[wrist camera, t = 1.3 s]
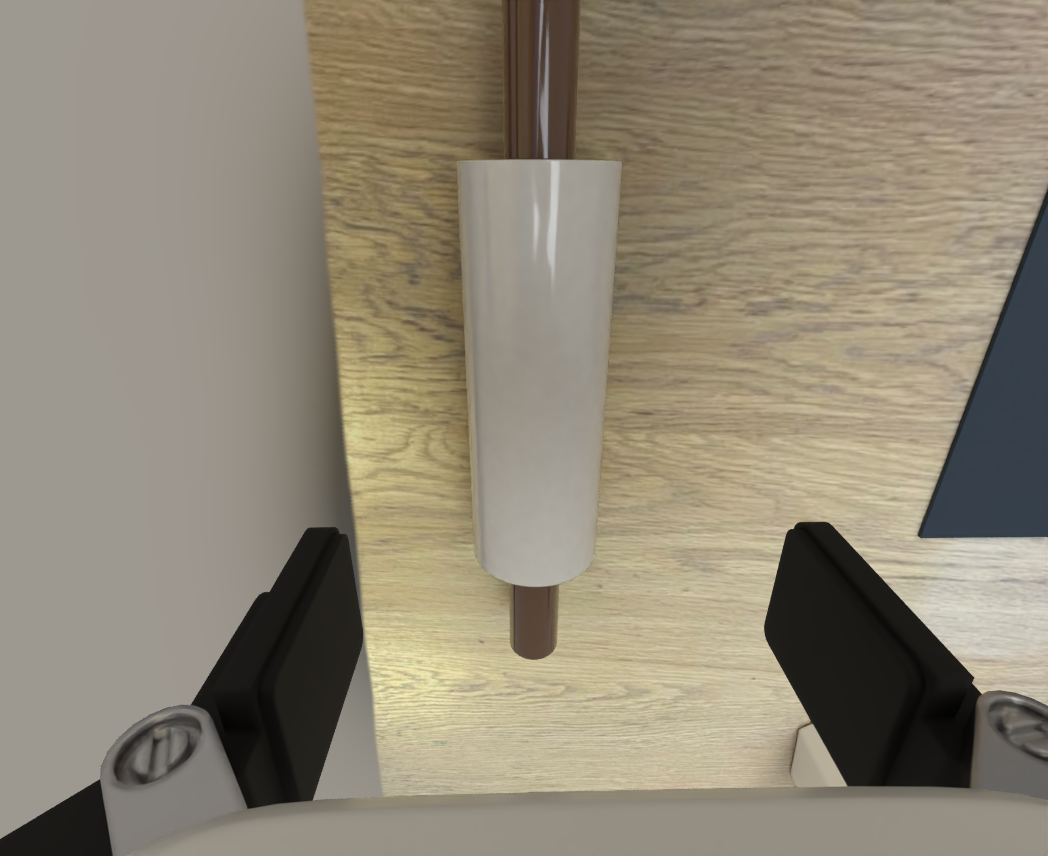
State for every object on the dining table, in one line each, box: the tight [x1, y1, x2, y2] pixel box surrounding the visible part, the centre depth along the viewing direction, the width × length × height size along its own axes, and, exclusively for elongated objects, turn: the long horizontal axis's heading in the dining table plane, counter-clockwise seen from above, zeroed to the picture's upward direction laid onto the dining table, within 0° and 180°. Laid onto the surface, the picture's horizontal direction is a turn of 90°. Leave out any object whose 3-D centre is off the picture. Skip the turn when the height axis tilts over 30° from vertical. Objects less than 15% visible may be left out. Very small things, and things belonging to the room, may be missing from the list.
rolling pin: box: [456, 0, 623, 660], centre depth 22 cm, size 28×6×6 cm, turn 0°
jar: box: [791, 723, 847, 787], centre depth 30 cm, size 9×8×12 cm
